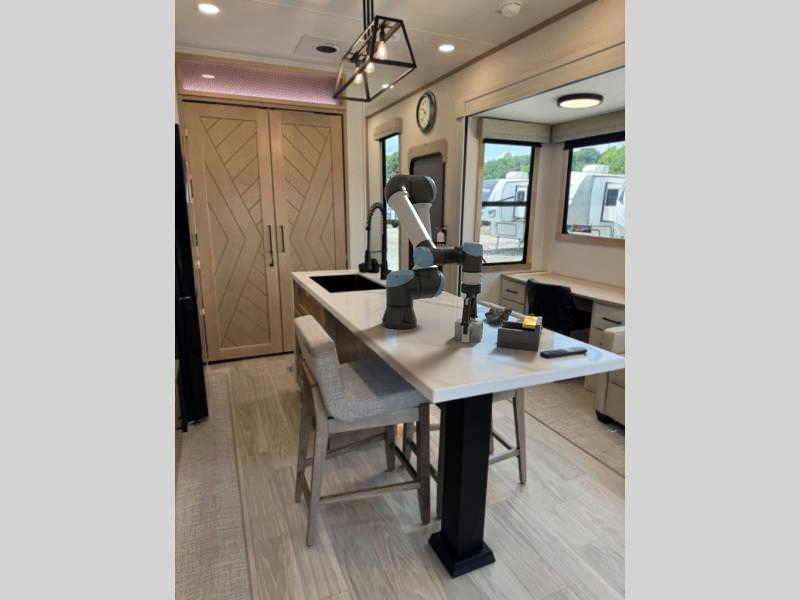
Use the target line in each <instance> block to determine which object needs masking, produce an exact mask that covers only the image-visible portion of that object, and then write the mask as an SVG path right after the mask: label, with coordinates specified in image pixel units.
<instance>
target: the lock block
mask: <svg viewBox="0 0 800 600" xmlns="http://www.w3.org/2000/svg"><path fill="white" fill-rule="evenodd" d="M461 322H462V318H457V319H456V320H455V322H454V334H453V335H454V337H453V339H454V340H456V341H457V340H458V341H459V340H460V341H462V326H461V325H460V323H461ZM469 326H470V334H469V342H474V343H475V342H476V343H480V342H481V341H482V339H483V334H484V320H477V319H476V320H470V323H469Z"/></svg>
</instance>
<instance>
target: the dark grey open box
mask: <svg viewBox="0 0 800 600" xmlns="http://www.w3.org/2000/svg"><path fill="white" fill-rule="evenodd" d="M523 319H524V322H516V321H513V320H508V321H504V320H503V321H502V322H501V327H498V328H497V337H496V347H497V348H501V349H511V350H519V351H525V352H528V351H529V352H535V353H538V352H539V348H540V345H541V344H540V343H541V338H542V337H541V336H542V335H541V333H542V331H541V325H542V326H543V324H542V323H543V316H535V317H532V316H529V315H525V318H523Z"/></svg>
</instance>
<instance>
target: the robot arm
mask: <svg viewBox="0 0 800 600" xmlns="http://www.w3.org/2000/svg"><path fill="white" fill-rule="evenodd" d="M383 192H384V199H385V202H386V204H387V206H388V207H389V208H390V209H391V210H393V211H394V212H393V213H395V215H396V217H397V219H398V221H399V222H400V225H401V226H402V228H403V230H404V232H405V233H406V236H407V237H408V238H409V241H410V243H411V245H412V246H413V247H412V248H413V253H412V257H413V262H414V266H413V267H412V269H399V270H394V271H391V272H389V273H388V274H387V276H386V283H385V286H386V288H385V290H386V292H385V293H386V294H385V295H386V297H385V298H386V299H385V300H386V301H385V310H384V314H383V317H382V319H381V325H382V326H383V327H384V326H385V327H384V328H387V327H389V328H388V329H392V328H396V329H395V330H407V329H406V328H409V329H413V328H416V325H418V319H417V317H416V313H415V309H414V300H422V299H433V298H438V297H439V296H441V294H442V293H443V291H444V289H445V285H446V279H445V276H444V273H442V271H439V266H453V265H454V266H455V265H456V266H461V279H460V280H461V282H462V283H460V284H461V285H460V292H461V293H462V294H464V295H465V297H464V298H463V306H462V313H461V319H462V322H461V323H460V325H461V326H462V340H461V343H468V344H469V343H470V341H469V334H470V326H469V323H470V320H477V319H478V318H479V315H478V301H477V300H478V298H477V297H478V295H479V294H481V292H482V284H481V282H482V278H483V277H484V275H483V274H482V273H483V256H484V248H483V247H484V245H483V243H482V242H479V241H478V242H477V241H464V242H463V244H462V246H461V245H457V244H446V245H435V243H434V242H433V237H432V225H431V216H430V209H431V207H432V206H433V202H434V201H435V200H436V196H437V186H436V184H435V181H434V179H432V178H431V177H430V176H427V175H422V174H419V175H418V174H417V175H416V174H403V173H402V174H401V173H399V174H395V175H394V176H392V177H390V178H389V180H388V181H387V182H386V184H385V187H384V191H383ZM412 327H413V328H412Z"/></svg>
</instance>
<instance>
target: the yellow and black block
mask: <svg viewBox="0 0 800 600" xmlns="http://www.w3.org/2000/svg"><path fill="white" fill-rule="evenodd" d="M528 316H532V317H536V315H535V313H533V312H530V314H528ZM524 319H525V318H523V319H518V320H517V321H515V322H524ZM543 328H544V327H543V324H542V325H541V332H542V331H543Z"/></svg>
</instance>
